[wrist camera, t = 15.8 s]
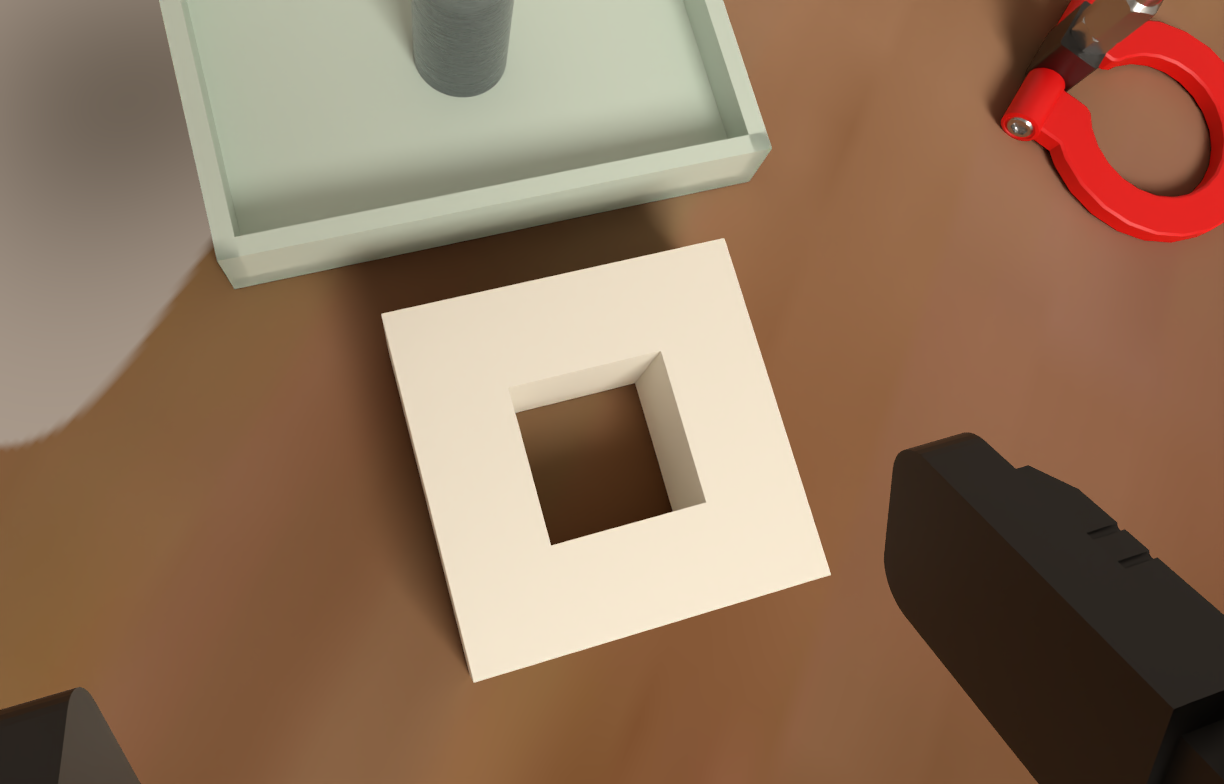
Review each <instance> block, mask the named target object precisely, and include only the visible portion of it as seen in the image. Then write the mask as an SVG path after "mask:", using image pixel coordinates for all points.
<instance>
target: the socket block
mask: <svg viewBox="0 0 1224 784" xmlns="http://www.w3.org/2000/svg"><path fill="white" fill-rule="evenodd" d="M381 316H382V321H383V326H384V331H385V336H386V341H387V346H388V351H389V355H390V359H391V363H392V367H393V371H394V375H395V379H396V383H397V387H398V391H399V395H400V399H401V403H402V407H403V411H404V415H405V419H406V423H407V427H408V431H409V435H410V439H411V443H412V447H413V451H414V455H415V459H416V463H417V467H418V471H419V475H420V479H421V483H422V487H423V491H424V495H425V499H426V503H427V507H428V511H429V515H430V519H431V523H432V527H433V531H434V535H435V539H436V543H437V547H438V551H439V555H440V559H441V563H442V567H443V571H444V575H445V579H446V583H447V586H448V590H449V594H450V598H451V602H452V606H453V610H454V614H455V618H456V622H457V626H458V630H459V634H460V638H461V642H462V646H463V650H464V654H465V658H466V662H467V666H468V670H469V674H470V677H471V678H472V680H473V682H478V681H481V680H484V679H488V678H491V677H494V676H498V675H501V674H504V673H507V672H511V671H514V670H517V669H521V668H524V667H527V666H531V665H534V664H537V663H541V662H544V661H547V660H550V659H554V658H557V657H560V656H564V655H567V654H570V653H574V652H577V651H580V650H584V649H587V648H590V647H593V646H597V645H600V644H603V643H607V642H610V641H613V640H617V639H620V638H623V637H627V636H630V635H633V634H636V633H640V632H643V631H646V630H650V629H653V628H656V627H660V626H663V625H666V624H670V623H673V622H676V621H680V620H683V619H686V618H689V617H693V616H696V615H699V614H703V613H706V612H709V611H713V610H716V609H719V608H723V607H726V606H729V605H732V604H736V603H739V602H742V601H746V600H749V599H752V598H756V597H759V596H762V595H766V594H769V593H772V592H775V591H779V590H782V589H785V588H789V587H792V586H795V585H799V584H802V583H805V582H809V581H812V580H815V579H818V578H822V577H825V576H828V575H831V573H830V570H829V567H828V564H827V561H826V558H825V554H824V551H823V548H822V545H821V542H820V539H819V535H818V532H817V529H816V526H815V523H814V520H813V517H812V513H811V510H810V507H809V504H808V501H807V498H806V494H805V491H804V488H803V485H802V482H801V479H800V475H799V472H798V469H797V466H796V463H795V460H794V457H793V453H792V450H791V447H790V444H789V441H788V438H787V434H786V431H785V428H784V425H783V422H782V419H781V416H780V412H779V409H778V406H777V403H776V400H775V397H774V393H773V390H772V387H771V384H770V381H769V378H768V375H767V371H766V368H765V365H764V362H763V359H762V356H761V352H760V349H759V346H758V343H757V340H756V337H755V334H754V330H753V327H752V324H751V321H750V318H749V315H748V311H747V308H746V305H745V302H744V299H743V296H742V292H741V289H740V286H739V283H738V280H737V277H736V274H735V270H734V267H733V264H732V261H731V258H730V255H729V251H728V248H727V245H726V242H725V239H724V238H723V239H718V240H714V241H709V242H705V243H700V244H695V245H691V246H686V247H682V248H677V249H673V250H668V251H664V252H659V253H655V254H650V255H646V256H641V257H637V258H632V259H627V260H623V261H618V262H614V263H609V264H605V265H600V266H596V267H591V268H587V269H582V270H578V271H573V272H569V273H564V274H559V275H555V276H550V277H546V278H541V279H537V280H532V281H528V282H523V283H519V284H514V285H510V286H505V287H501V288H496V289H491V290H487V291H482V292H478V293H473V294H469V295H464V296H460V297H455V298H451V299H446V300H442V301H437V302H432V303H428V304H423V305H419V306H414V307H410V308H405V309H401V310H396V311H392V312H387V313H383V314H381ZM634 383H635V385H636V388H637V392H638V395H639V398H640V402H641V405H642V409H643V412H644V415H645V419H646V422H647V426H648V429H649V433H650V436H651V439H652V443H653V446H654V450H655V453H656V456H657V460H658V463H659V467H660V470H661V473H662V477H663V480H664V484H665V487H666V491H667V494H668V497H669V501H670V504H671V508H672V511H673V512H670V513H666V514H663V515H659V516H656V517H652V518H648V519H645V520H641V521H638V522H634V523H630V524H627V525H623V526H620V527H616V528H612V529H609V530H605V531H602V532H598V533H594V534H591V535H587V536H584V537H580V538H576V539H573V540H569V541H566V542H562V543H558V544H555V545H551V543H550V540H549V536H548V532H547V529H546V525H545V521H544V518H543V514H542V510H541V506H540V503H539V499H538V495H537V492H536V488H535V484H534V481H533V477H532V473H531V469H530V466H529V462H528V458H527V455H526V451H525V447H524V444H523V440H522V436H521V432H520V429H519V425H518V421H517V418H516V414H515V413H517V412H521V411H525V410H529V409H533V408H537V407H541V406H545V405H550V404H554V403H558V402H562V401H566V400H570V399H574V398H578V397H582V396H586V395H590V394H594V393H598V392H602V391H606V390H610V389H614V388H618V387H622V386H626V385H630V384H634Z"/></svg>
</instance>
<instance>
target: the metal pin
mask: <svg viewBox="0 0 1224 784" xmlns="http://www.w3.org/2000/svg"><path fill="white" fill-rule="evenodd" d="M513 6H514V0H411V12H412V36H413V58H414V63H415V66H416V68H417V70H418V72H419V74H420V76H421V77H422V78H423V80H424V81H425V82H426V83H427V84H428V85H430V86H431V87H432V88H434V89H435V90H437V91H439V92H441V93H443V94H446V95H449V96H453V97H473V96H477V95H480V94H483V93H485V92H486V91H488V90H490V89H491V88H492V87H494V86H495V85H496V84H497V83H498V81H499V80H500V79H501V77H502V75H503V73H504V71H505V68H506V63H507V54H508V46H509V38H510V30H511V22H512V14H513Z"/></svg>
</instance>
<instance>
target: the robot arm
mask: <svg viewBox="0 0 1224 784" xmlns="http://www.w3.org/2000/svg"><path fill="white" fill-rule="evenodd" d="M884 565H885V572H886V576H887V580H888V584H889V587H890V590H891V592H892V594H893V597H894V599H895V601H896V603H897V605H898V606H899V608H900V610H901V611H902V612H903V614H904V615H905V617H906V618H907V619H908V620H909V622H910V623H911V624H912V625H913V627H914V628H915V629H916V630H917V632H918V633H919V634H920V635H921V637H922V638H923V639H924V640H925V642H926V643H927V644H928V645H929V647H930V648H931V649H932V650H933V652H934V653H935V654H936V655H937V657H938V658H939V659H940V661H941V662H942V663H943V664H944V666H945V667H946V668H947V669H948V671H949V672H950V673H951V674H952V676H953V677H954V678H955V679H956V681H957V682H958V683H959V684H960V686H961V687H962V688H963V689H964V691H965V692H966V693H967V694H968V696H969V697H970V698H971V699H972V701H973V702H974V703H975V704H976V706H977V707H978V708H979V709H980V711H981V712H982V713H983V714H984V716H985V717H986V718H987V719H988V721H989V722H990V723H991V724H992V726H993V727H994V728H995V730H996V731H997V732H998V733H999V735H1000V736H1001V737H1002V738H1003V740H1004V741H1005V742H1006V743H1007V745H1008V746H1009V747H1010V748H1011V750H1012V751H1013V752H1014V753H1015V755H1016V756H1017V757H1018V758H1019V760H1020V761H1021V762H1022V763H1023V765H1024V766H1025V767H1026V768H1027V770H1028V771H1029V772H1030V773H1031V775H1032V776H1033V777H1034V778H1035V780H1036V781H1037V782H1038V783H1039V784H1224V615H1223V614H1222V613H1221V612H1220V611H1219V610H1217V609H1216V608H1215V607H1214V606H1213V605H1212V604H1211V603H1209V602H1208V601H1207V600H1206V599H1205V598H1204V597H1202V596H1201V595H1200V594H1199V593H1198V592H1197V591H1195V590H1194V589H1193V588H1192V587H1191V586H1190V585H1189V584H1187V583H1186V582H1185V581H1184V580H1183V579H1182V578H1180V577H1179V576H1178V575H1177V574H1176V573H1175V572H1174V571H1172V570H1171V569H1170V568H1169V567H1168V566H1167V565H1165V564H1164V563H1163V562H1162V561H1161V560H1160V559H1159V558H1155V559H1153V558H1152V557H1151V556H1150V554H1149V550H1148V549H1147V548H1146V547H1145V546H1144V545H1142V544H1141V543H1140V542H1139V541H1138V540H1137V539H1135V538H1134V537H1133V536H1132V535H1131V534H1130V533H1129V532H1127V531H1126V530H1122V531H1121V530H1119V528H1118V526H1117V522H1116V521H1115V520H1113V519H1112V518H1111V517H1110V516H1109V515H1108V514H1107V513H1105V512H1104V511H1103V510H1102V509H1101V508H1100V507H1098V506H1097V505H1096V504H1095V503H1094V502H1093V501H1092V500H1090V499H1089V498H1088V497H1087V496H1086V495H1085V494H1083V493H1082V492H1081V491H1080V490H1079V489H1077V488H1075V487H1073V486H1071V485H1069V484H1066V483H1064V482H1062V481H1060V480H1058V479H1056V478H1054V477H1052V476H1050V475H1048V474H1045V473H1043V472H1041V471H1039V470H1037V469H1035V468H1033V467H1031V466H1029V465H1028V466H1024V467H1021V468H1018V469H1015V468H1014V467H1013V466H1012V465H1011V464H1010V463H1009V462H1007V461H1006V460H1005V459H1004V458H1003V457H1002V456H1001V455H1000V454H999V453H998V452H996V451H995V450H994V449H993V448H992V447H991V446H990V445H989V444H988V443H987V442H985V441H984V440H983V439H982V438H980V437H979V436H977V435H975V434H972V433H961V434H958V435H954V436H951V437H948V438H944V439H941V440H937V441H934V442H930V443H927V444H923V445H920V446H917V447H913V448H910V449H906V450H903V451H901V452H900V453H899V454H898V455H897V457H896V459H895V462H894V466H893V474H892V483H891V493H890V503H889V513H888V522H887V532H886V542H885V552H884ZM0 784H140V782H139V780H138V778H137V776H136V775H135V773H134V771H133V769H132V767H131V766H130V764H129V762H128V760H127V758H126V757H125V755H124V753H123V751H122V749H121V748H120V746H119V744H118V742H117V740H116V739H115V737H114V735H113V733H112V731H111V729H110V728H109V726H108V724H107V722H106V720H105V719H104V717H103V715H102V713H101V711H100V710H99V708H98V706H97V704H96V702H95V701H94V699H93V698H92V696H91V695H90V694H89V692H88V691H87V690H85V689H84V688H81V687H78V688H74V689H71V690H67V691H64V692H61V693H57V694H54V695H50V696H47V697H43V698H40V699H36V700H33V701H30V702H26V703H23V704H19V705H16V706H12V707H9V708H5V709H2V710H0Z"/></svg>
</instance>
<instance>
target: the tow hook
mask: <svg viewBox="0 0 1224 784" xmlns="http://www.w3.org/2000/svg"><path fill="white" fill-rule="evenodd" d="M1162 2H1163V0H1071V2H1070V3H1069V5H1068V7H1067V8H1066V10H1065V12H1064V13H1063V15H1062V17H1061V19H1060V20H1059V22H1058V24H1057V25H1056V27H1054V28H1053V29H1052V30H1051V31H1050V33H1049V34H1048V35H1047V37H1046V39H1045V40H1044V42H1043V44H1042V46H1041V47H1040V49H1039V51H1038V52H1037V54H1036V56H1035V57H1034V59H1033V61H1032V63H1031V64H1030V66H1029V68H1028V69H1027V72H1026V78H1025V80H1024V82H1023V83H1022V85H1021V87H1020V88H1019V90H1018V92H1017V93H1016V95H1015V97H1014V99H1013V100H1012V102H1011V104H1010V105H1009V107H1008V109H1007V111H1006V112H1005V114H1004V116H1003V117H1002V120H1001V126H1002V129H1003V130H1004V131H1005V133H1007V134H1008V135H1009V136H1011V137H1012V138H1014V139H1017V140H1021V141H1030V140H1033V139H1034V140H1035V141H1036V142H1038V143H1039V144H1040V145H1042V146H1043V147H1045V148H1046V149H1047V150H1049V151H1050V154H1051V157H1052V160H1053V163H1054V166H1055V167H1056V169H1057V171H1058V172H1059V174H1060V176H1061V177H1062V179H1063V180H1064V182H1065V184H1066V185H1067V187H1068V189H1069V190H1070V192H1071V193H1072V194H1073V195H1074V196H1075V197H1076V198H1077V199H1078V200H1079V201H1080V202H1081V203H1082V204H1083V205H1084V206H1085V208H1086V209H1087V210H1088V211H1089V212H1090V213H1091V214H1092V215H1094V216H1095V217H1097V218H1098V219H1100V220H1102V221H1103V222H1105V223H1106V224H1108V225H1109V226H1111V227H1112V228H1114V229H1115V230H1117V231H1119V232H1122V233H1125V234H1128V235H1130V236H1133V237H1136V238H1139V239H1142V240H1146V241H1159V242H1175V241H1180V240H1185V239H1189V238H1194V237H1197V236H1199V235H1202V234H1204V233H1206V232H1208V231H1210V230H1212V229H1213V228H1215V227H1217V226H1218V225H1220V224H1222V223H1224V62H1223V61H1222V60H1221V59H1220V58H1219V57H1218V56H1217V55H1216V54H1215V53H1214V52H1213V51H1212V50H1211V49H1210V48H1209V47H1208V46H1206V45H1205V44H1203V43H1202V42H1200V41H1199V40H1197V39H1196V38H1194V37H1193V36H1191V35H1190V34H1188V33H1187V32H1185V31H1183V30H1180V29H1178V28H1175V27H1172V26H1170V25H1167V24H1165V23H1162V22H1159V21H1151V20H1150V19H1151V18H1152V17H1153V16H1154V15H1155V14H1156V13H1157V11H1158V9H1159V7H1160V6H1161V4H1162ZM1127 64H1136V65H1145V66H1149V67H1152V68H1155V69H1157V70H1160V71H1162V72H1165V73H1166V74H1168V75H1169V76H1171V77H1172V78H1174V79H1175V80H1177V81H1178V82H1180V83H1181V84H1182V85H1183V86H1184V88H1185V89H1186V90H1187V91H1188V92H1189V93H1190V94H1191V95H1192V96H1193V97H1194V99H1195V100H1196V102H1197V104H1198V105H1199V107H1200V108H1201V110H1202V112H1203V114H1204V116H1205V119H1206V122H1207V125H1208V128H1209V131H1210V139H1211V148H1212V149H1211V156H1210V163H1209V167H1208V169H1207V171H1206V174H1205V176H1204V178H1203V180H1202V181H1201V183H1200V184H1199V185H1198V186H1197V187H1196V188H1195V189H1194V190H1193V192H1191V193H1189V194H1186V195H1182V196H1177V197H1168V196H1157V195H1154V194H1151V193H1149V192H1146V191H1143V190H1140V189H1138V188H1137V187H1135V186H1134V185H1132V184H1131V183H1129V182H1128V181H1126V180H1125V179H1123V178H1122V177H1121V176H1120V175H1119V174H1118V173H1117V172H1116V171H1115V170H1114V169H1113V168H1112V166H1111V165H1110V164H1109V163H1108V162H1107V160H1106V158H1105V157H1104V155H1103V153H1102V152H1101V150H1100V148H1099V147H1098V144H1097V141H1096V138H1095V135H1094V132H1093V130H1092V123H1091V113H1090V112H1089V110H1088V108H1087V107H1086V106H1085V105H1083V104H1082V103H1081V102H1079V101H1078V100H1077V99H1075V98H1074V97H1072V96H1071V95H1070V94H1068V93H1067V91H1068V90H1070V89H1071V88H1072V87H1073V86H1075V85H1076V84H1077V83H1079V82H1080V81H1081V80H1083V79H1084V78H1085V77H1087V76H1088V75H1089V74H1091V73H1092V72H1093V71H1095V70H1096V69H1097V68H1098V67H1099V68H1100V69H1105V70H1109V69H1111V68H1113V67H1115V66H1121V65H1127Z"/></svg>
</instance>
